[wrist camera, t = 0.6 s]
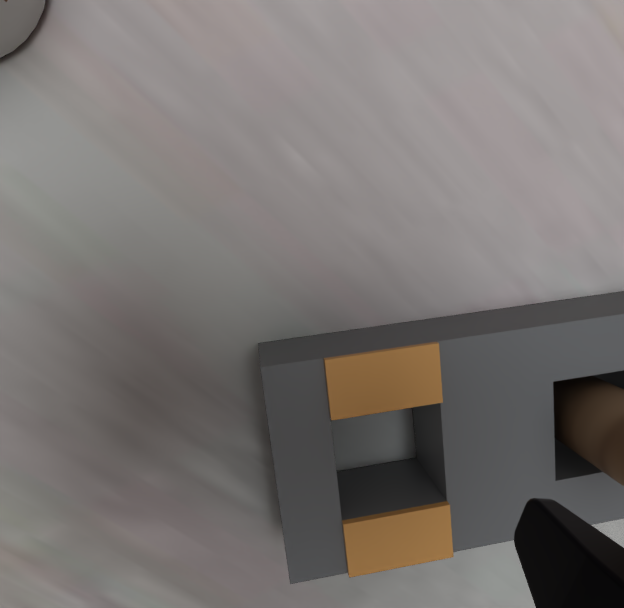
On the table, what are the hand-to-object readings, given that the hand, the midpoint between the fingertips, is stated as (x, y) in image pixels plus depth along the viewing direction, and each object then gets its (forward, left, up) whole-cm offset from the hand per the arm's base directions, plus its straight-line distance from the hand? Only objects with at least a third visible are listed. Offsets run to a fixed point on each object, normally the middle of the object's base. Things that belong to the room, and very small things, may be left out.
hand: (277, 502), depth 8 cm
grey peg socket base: (-6, -10, -15) cm, 19 cm away
